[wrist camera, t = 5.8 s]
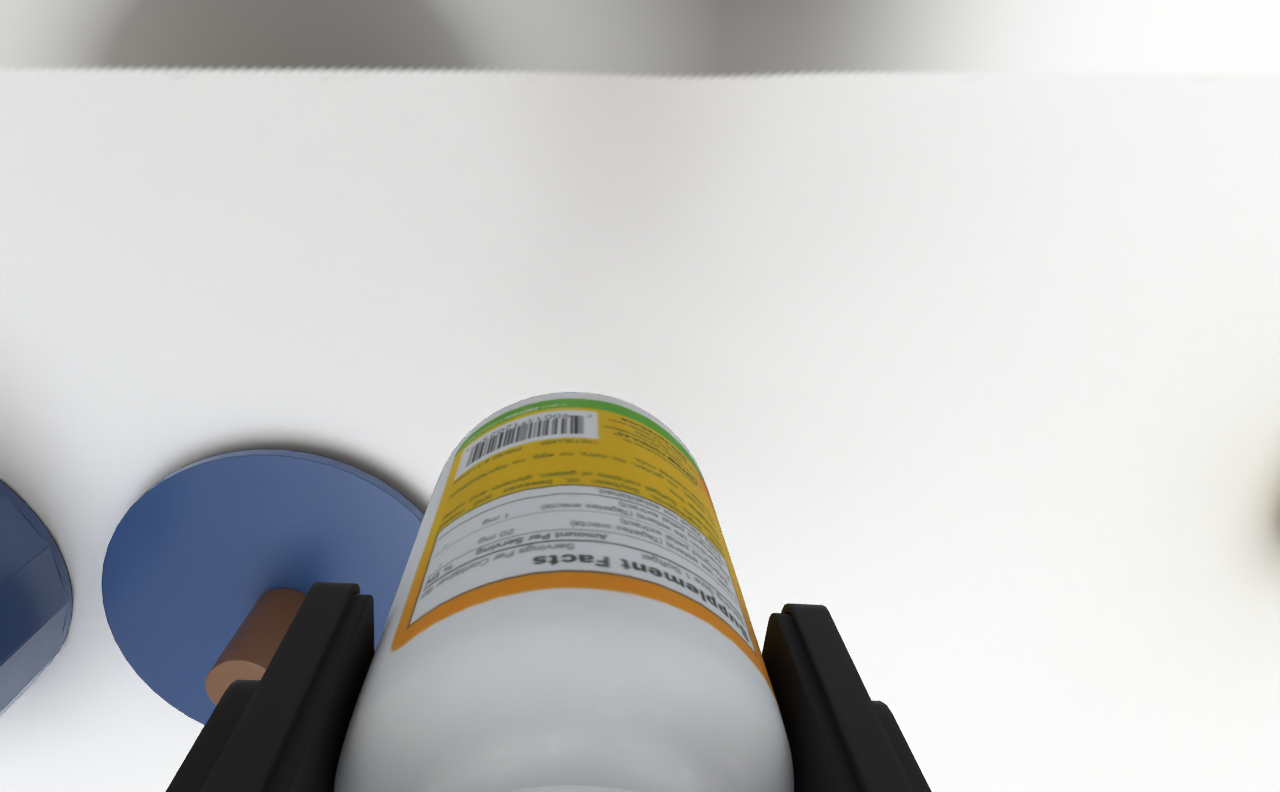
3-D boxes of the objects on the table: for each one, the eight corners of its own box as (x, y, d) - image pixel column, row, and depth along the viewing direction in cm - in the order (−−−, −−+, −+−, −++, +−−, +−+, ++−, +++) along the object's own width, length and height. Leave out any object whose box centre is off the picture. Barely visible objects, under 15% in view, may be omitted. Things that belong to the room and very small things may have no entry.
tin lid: (41, 526, 32) (-69, 611, 27) (356, 385, 31) (306, 446, 25) (248, 769, 37) (190, 881, 32) (525, 659, 36) (513, 756, 30)
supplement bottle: (613, 659, 17) (652, 1315, 8) (386, 551, 15) (115, 1196, 6) (760, 469, 15) (1014, 1005, 6) (523, 331, 14) (422, 765, 5)
